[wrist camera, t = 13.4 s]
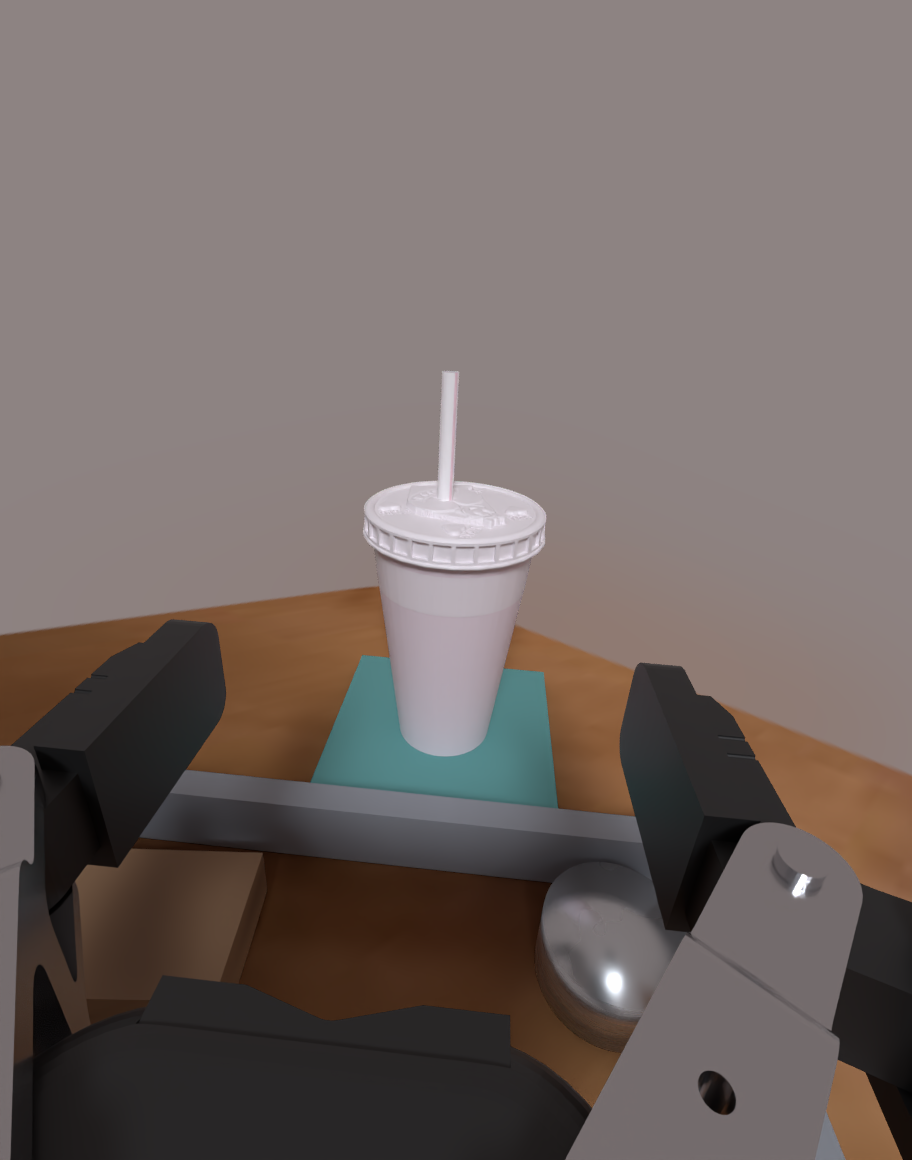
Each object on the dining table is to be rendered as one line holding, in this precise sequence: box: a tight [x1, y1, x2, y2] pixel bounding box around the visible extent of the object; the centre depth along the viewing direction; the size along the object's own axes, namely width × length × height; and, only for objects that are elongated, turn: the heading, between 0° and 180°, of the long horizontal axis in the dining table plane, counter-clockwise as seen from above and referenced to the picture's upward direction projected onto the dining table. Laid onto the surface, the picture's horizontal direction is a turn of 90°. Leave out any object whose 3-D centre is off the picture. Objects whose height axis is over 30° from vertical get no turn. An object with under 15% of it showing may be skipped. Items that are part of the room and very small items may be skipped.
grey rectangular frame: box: [140, 770, 845, 1160], centre depth 12 cm, size 20×16×2 cm
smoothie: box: [363, 371, 546, 756], centre depth 21 cm, size 6×6×14 cm
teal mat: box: [310, 655, 558, 809], centre depth 24 cm, size 9×9×1 cm
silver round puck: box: [535, 862, 690, 1053], centre depth 16 cm, size 4×4×2 cm
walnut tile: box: [75, 849, 267, 1024], centre depth 15 cm, size 5×4×2 cm
